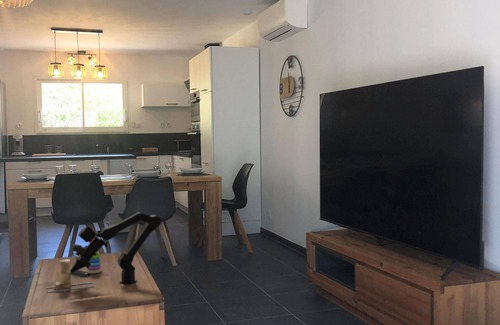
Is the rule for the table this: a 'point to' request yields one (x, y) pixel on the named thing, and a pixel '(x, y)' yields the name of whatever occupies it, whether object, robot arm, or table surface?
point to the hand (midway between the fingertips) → (70, 272)
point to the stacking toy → (95, 264)
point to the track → (72, 288)
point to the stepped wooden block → (64, 275)
